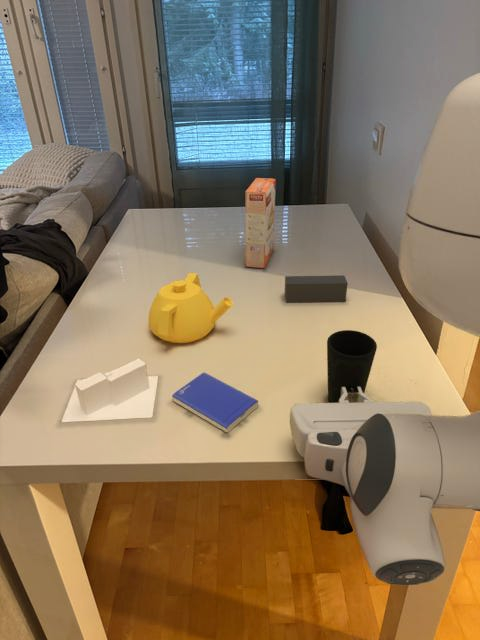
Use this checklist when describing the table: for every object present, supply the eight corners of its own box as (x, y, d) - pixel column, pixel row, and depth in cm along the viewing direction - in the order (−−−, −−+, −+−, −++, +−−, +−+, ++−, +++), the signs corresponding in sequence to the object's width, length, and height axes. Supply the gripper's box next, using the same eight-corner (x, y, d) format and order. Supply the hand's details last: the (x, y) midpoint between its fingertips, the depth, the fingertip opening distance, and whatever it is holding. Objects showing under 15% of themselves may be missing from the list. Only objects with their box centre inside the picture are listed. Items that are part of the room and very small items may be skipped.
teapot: (221, 361, 90) (218, 312, 84) (133, 350, 94) (125, 302, 88) (244, 310, 106) (243, 266, 101) (169, 302, 110) (164, 260, 105)
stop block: (342, 294, 113) (344, 275, 110) (345, 302, 109) (347, 282, 107) (284, 294, 113) (285, 276, 110) (285, 302, 109) (286, 283, 107)
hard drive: (171, 394, 79) (226, 426, 73) (204, 371, 85) (258, 399, 78) (172, 401, 80) (226, 434, 73) (204, 378, 86) (258, 406, 79)
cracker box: (266, 269, 125) (267, 192, 114) (244, 267, 126) (243, 190, 116) (275, 249, 137) (276, 177, 126) (254, 248, 138) (254, 176, 127)
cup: (366, 389, 82) (375, 332, 76) (368, 419, 76) (378, 359, 69) (322, 384, 83) (328, 327, 77) (320, 413, 77) (326, 354, 71)
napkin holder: (158, 375, 87) (155, 349, 84) (153, 417, 77) (149, 390, 74) (76, 379, 86) (70, 354, 83) (60, 423, 76) (52, 396, 73)
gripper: (456, 439, 60) (420, 373, 72) (297, 441, 60) (287, 375, 72) (445, 473, 63) (412, 404, 75) (294, 475, 63) (285, 406, 75)
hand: (350, 389), depth 73 cm, fingers closed, pressing on cup
